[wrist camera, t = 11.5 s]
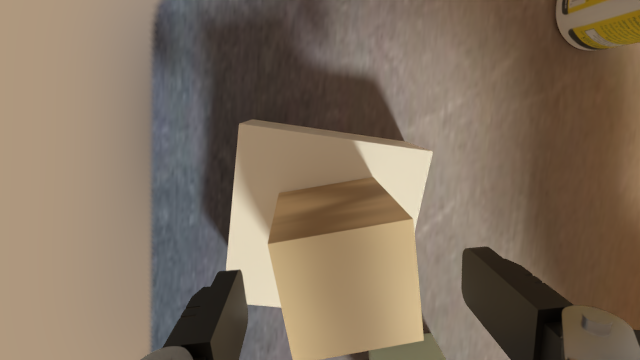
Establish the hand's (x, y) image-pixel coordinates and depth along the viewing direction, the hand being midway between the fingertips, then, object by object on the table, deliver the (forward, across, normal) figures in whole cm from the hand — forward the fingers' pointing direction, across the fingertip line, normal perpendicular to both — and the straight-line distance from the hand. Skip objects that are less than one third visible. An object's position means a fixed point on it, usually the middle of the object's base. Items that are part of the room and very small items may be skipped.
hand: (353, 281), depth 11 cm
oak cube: (+6, 0, 0) cm, 6 cm away
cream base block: (+11, +1, 0) cm, 11 cm away
